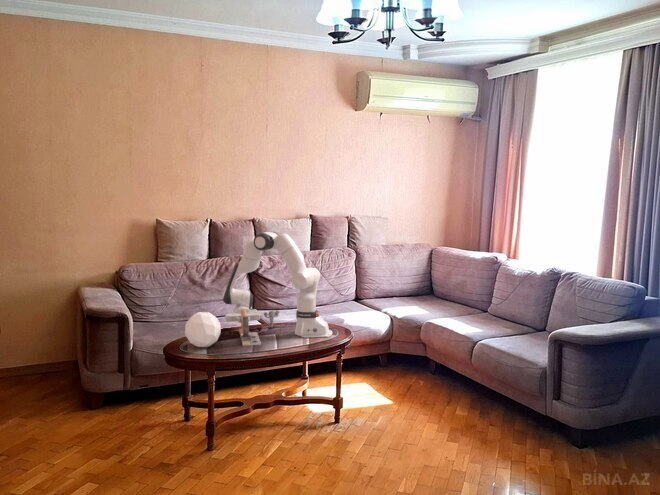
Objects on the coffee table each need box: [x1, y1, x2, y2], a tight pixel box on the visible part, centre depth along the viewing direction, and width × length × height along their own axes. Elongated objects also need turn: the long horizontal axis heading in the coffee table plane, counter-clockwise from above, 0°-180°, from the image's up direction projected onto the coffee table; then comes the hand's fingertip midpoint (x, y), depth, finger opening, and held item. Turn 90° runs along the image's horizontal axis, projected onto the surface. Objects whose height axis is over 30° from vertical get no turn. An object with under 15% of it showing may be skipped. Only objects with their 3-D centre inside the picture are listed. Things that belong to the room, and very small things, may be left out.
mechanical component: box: [263, 309, 280, 328], centre depth 363 cm, size 3×10×10 cm, turn 127°
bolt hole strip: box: [249, 331, 262, 346], centre depth 335 cm, size 23×6×1 cm, turn 13°
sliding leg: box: [238, 310, 246, 334], centre depth 340 cm, size 5×5×13 cm
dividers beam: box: [239, 316, 251, 347], centre depth 333 cm, size 23×5×16 cm, turn 13°
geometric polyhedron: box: [184, 311, 222, 348], centre depth 321 cm, size 19×20×20 cm
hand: (243, 320), depth 339 cm, fingers closed on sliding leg, 3 cm apart
